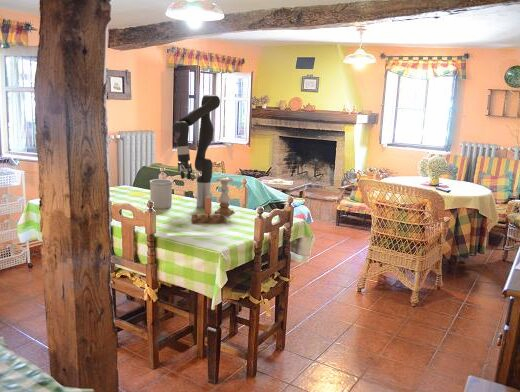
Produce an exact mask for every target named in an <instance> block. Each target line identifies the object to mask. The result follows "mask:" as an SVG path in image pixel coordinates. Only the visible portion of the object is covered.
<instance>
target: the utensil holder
mask: <svg viewBox="0 0 520 392" xmlns="http://www.w3.org/2000/svg"><path fill="white" fill-rule="evenodd" d="M149 187H150V188H149V190H150V192H149V194H150V201H151V200H152V201H153V202H154V208H153V209H160V210H162V209H169V208H171V207H172V204H173V203H172V200H173V199H172V198H173V180H171V179H167V178H155V179H151V180H149Z"/></svg>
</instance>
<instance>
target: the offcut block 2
mask: <svg viewBox="0 0 520 392" xmlns="http://www.w3.org/2000/svg"><path fill="white" fill-rule="evenodd" d="M209 218H220V214H214V213H211V214H209Z"/></svg>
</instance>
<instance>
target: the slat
mask: <svg viewBox="0 0 520 392" xmlns="http://www.w3.org/2000/svg"><path fill="white" fill-rule="evenodd" d="M204 214H208V216H209V214H212V197H205V208H204Z"/></svg>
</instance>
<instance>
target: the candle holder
mask: <svg viewBox="0 0 520 392" xmlns="http://www.w3.org/2000/svg"><path fill="white" fill-rule="evenodd" d="M216 181H217V182H220V184H221V187H220V190H221V193H220V196H219V198H218V202H219V203H220V204H219V205H218V206H219V208H218V209H216V210H215V211H214V213H213V214H224V217H230V216H233V214H236V212H235V211H234V209H231V208H230V204H229V203H230V201H231V197H230V196H229V194H228V191H229V187H228V185H229V183H230V182H233V181H234V178H233V177H217V178H216Z"/></svg>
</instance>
